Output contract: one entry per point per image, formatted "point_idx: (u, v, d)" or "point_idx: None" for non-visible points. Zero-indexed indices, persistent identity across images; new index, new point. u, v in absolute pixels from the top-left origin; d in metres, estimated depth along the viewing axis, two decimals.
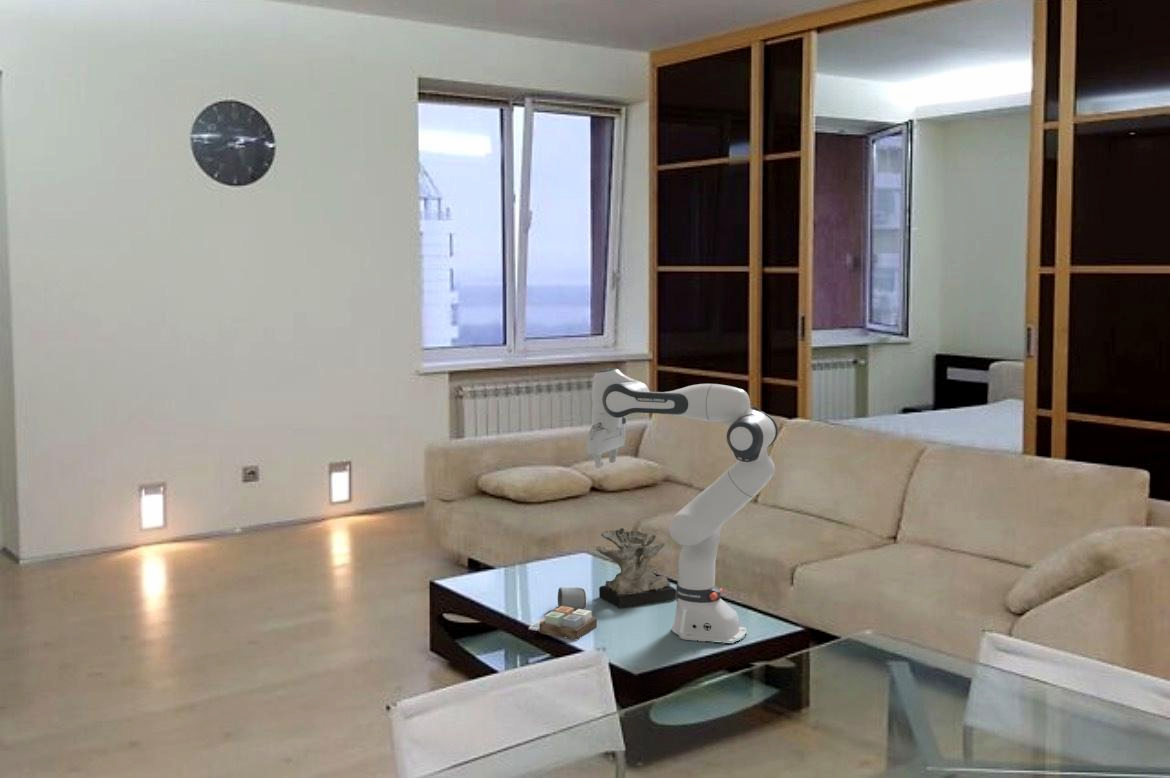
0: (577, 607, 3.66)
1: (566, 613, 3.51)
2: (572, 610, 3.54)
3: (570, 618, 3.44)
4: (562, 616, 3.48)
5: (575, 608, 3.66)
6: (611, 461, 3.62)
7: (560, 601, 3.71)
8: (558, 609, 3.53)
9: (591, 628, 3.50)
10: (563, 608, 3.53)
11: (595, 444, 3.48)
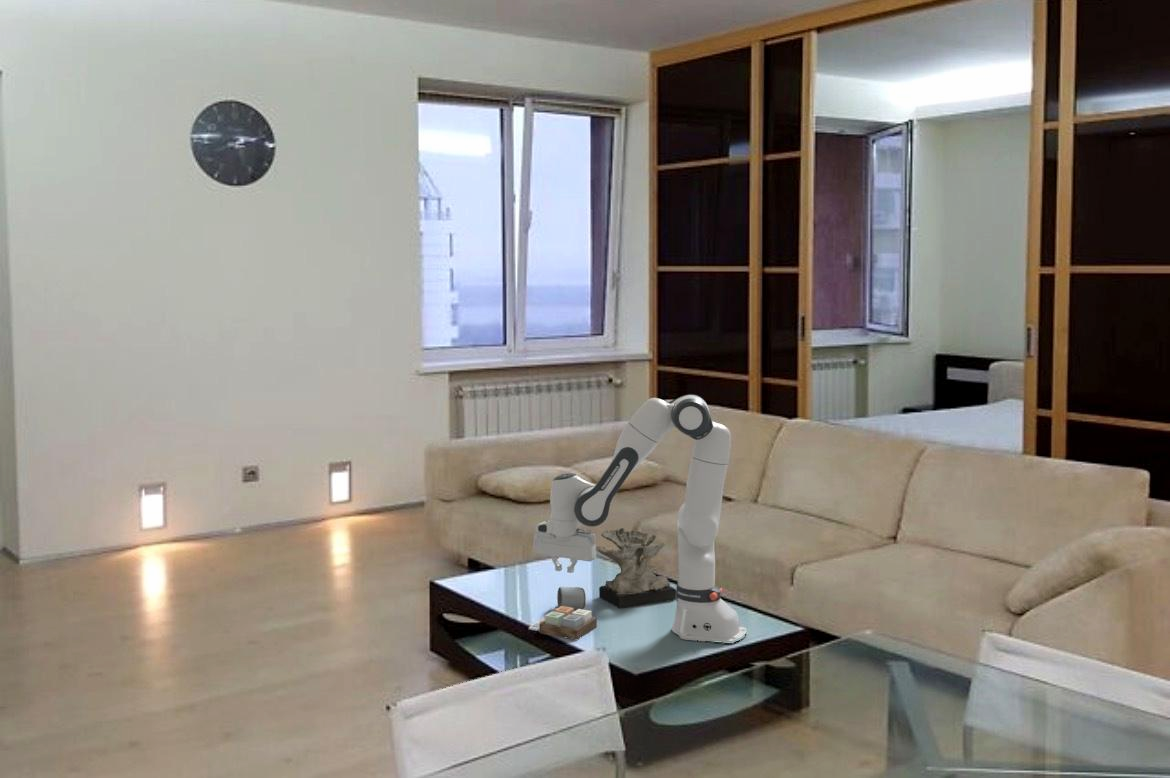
0: (577, 607, 3.66)
1: (566, 613, 3.51)
2: (572, 610, 3.54)
3: (570, 618, 3.44)
4: (562, 616, 3.48)
5: (575, 608, 3.66)
6: (560, 569, 3.53)
7: (560, 601, 3.72)
8: (558, 609, 3.53)
9: (591, 628, 3.50)
10: (563, 608, 3.53)
11: (595, 548, 3.48)
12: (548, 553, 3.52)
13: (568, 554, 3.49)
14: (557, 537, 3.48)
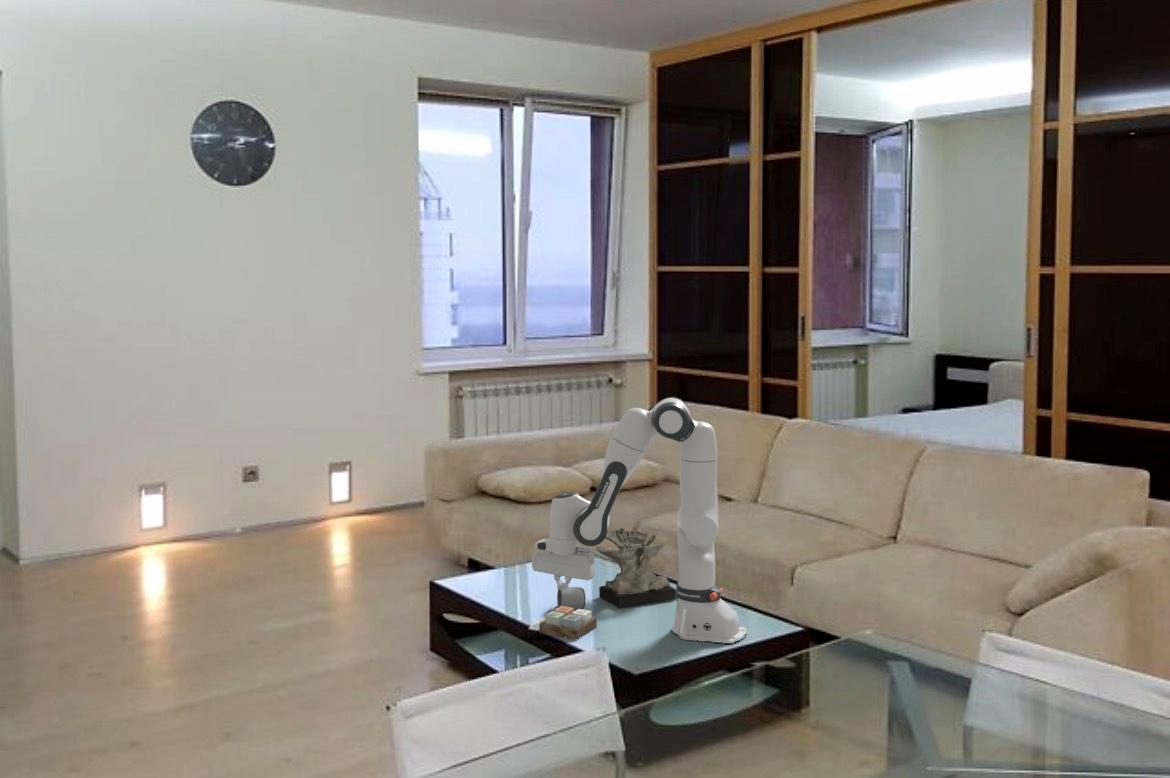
0: (576, 606, 3.67)
1: (566, 613, 3.51)
2: (572, 610, 3.54)
3: (570, 618, 3.44)
4: (562, 616, 3.48)
5: (574, 607, 3.67)
6: None
7: (560, 600, 3.72)
8: (558, 609, 3.53)
9: (591, 628, 3.50)
10: (563, 608, 3.53)
11: (594, 567, 3.48)
12: (547, 571, 3.53)
13: (567, 573, 3.49)
14: (556, 555, 3.49)
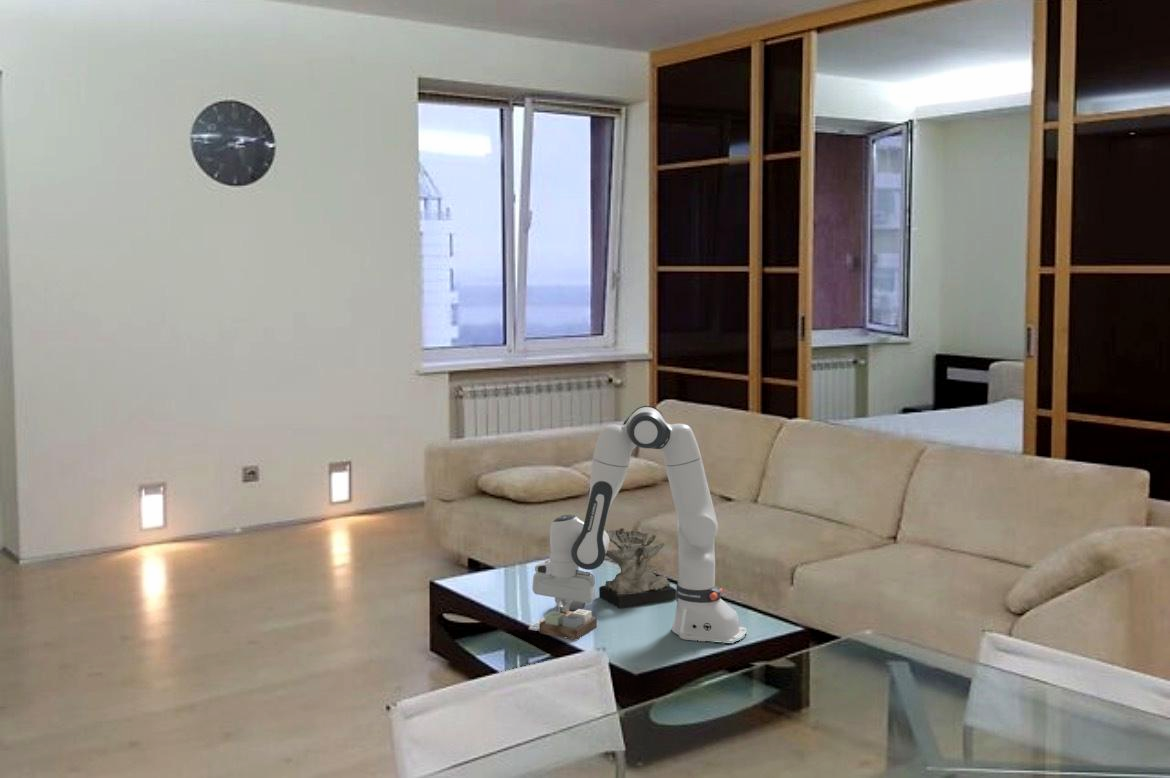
0: (576, 606, 3.67)
1: None
2: None
3: (570, 618, 3.44)
4: (562, 616, 3.48)
5: (574, 607, 3.67)
6: None
7: None
8: None
9: (591, 628, 3.50)
10: None
11: (594, 590, 3.49)
12: (547, 594, 3.53)
13: (567, 595, 3.50)
14: (556, 578, 3.50)
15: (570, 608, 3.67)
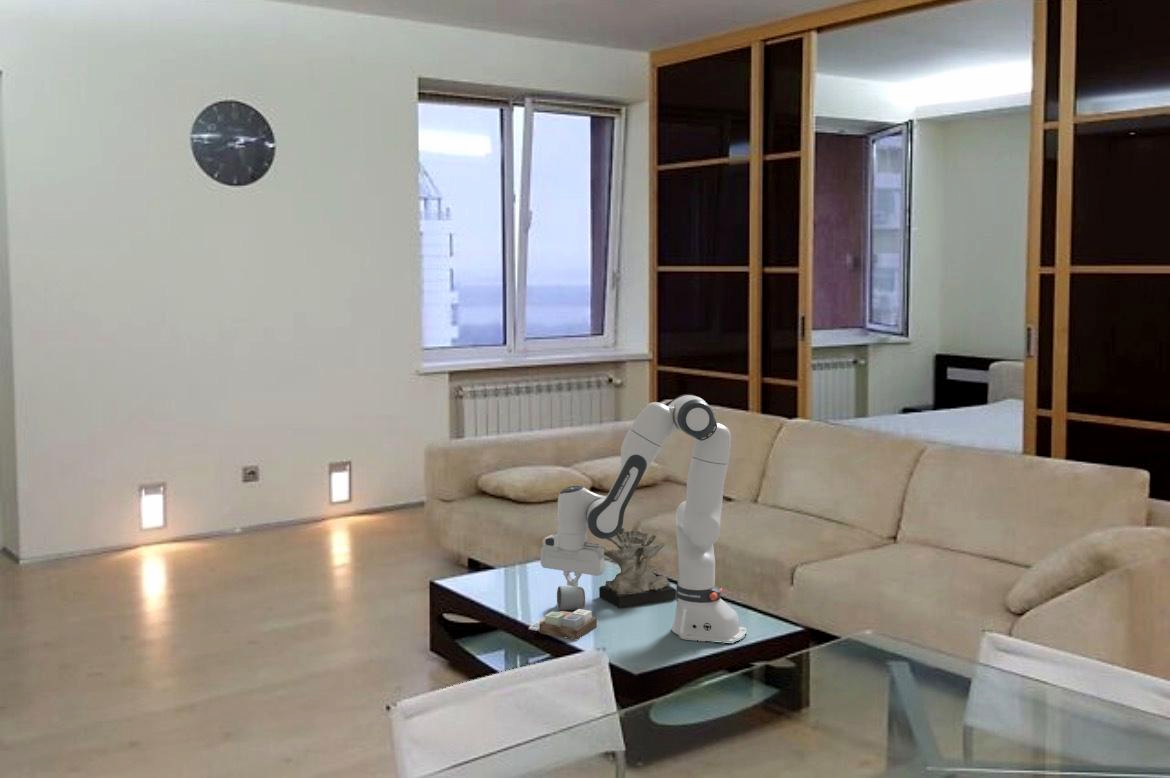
0: (576, 606, 3.67)
1: None
2: None
3: (570, 618, 3.44)
4: (562, 616, 3.48)
5: (574, 607, 3.67)
6: None
7: (559, 600, 3.72)
8: None
9: (591, 628, 3.50)
10: None
11: None
12: (556, 567, 3.45)
13: (576, 568, 3.42)
14: (565, 551, 3.42)
15: (570, 608, 3.67)
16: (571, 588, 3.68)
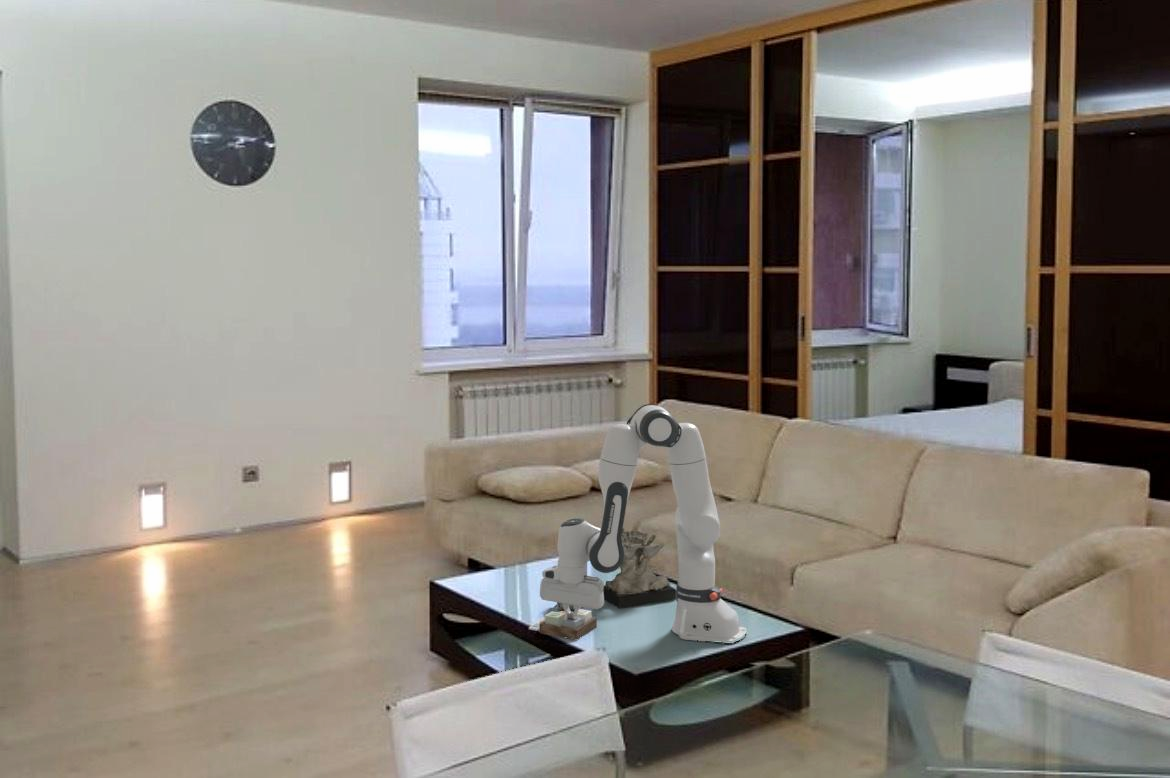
0: None
1: None
2: None
3: (570, 619, 3.45)
4: (562, 616, 3.48)
5: None
6: None
7: None
8: None
9: (591, 628, 3.50)
10: None
11: (603, 595, 3.41)
12: (555, 599, 3.45)
13: (575, 601, 3.42)
14: (564, 584, 3.42)
15: (570, 607, 3.68)
16: None
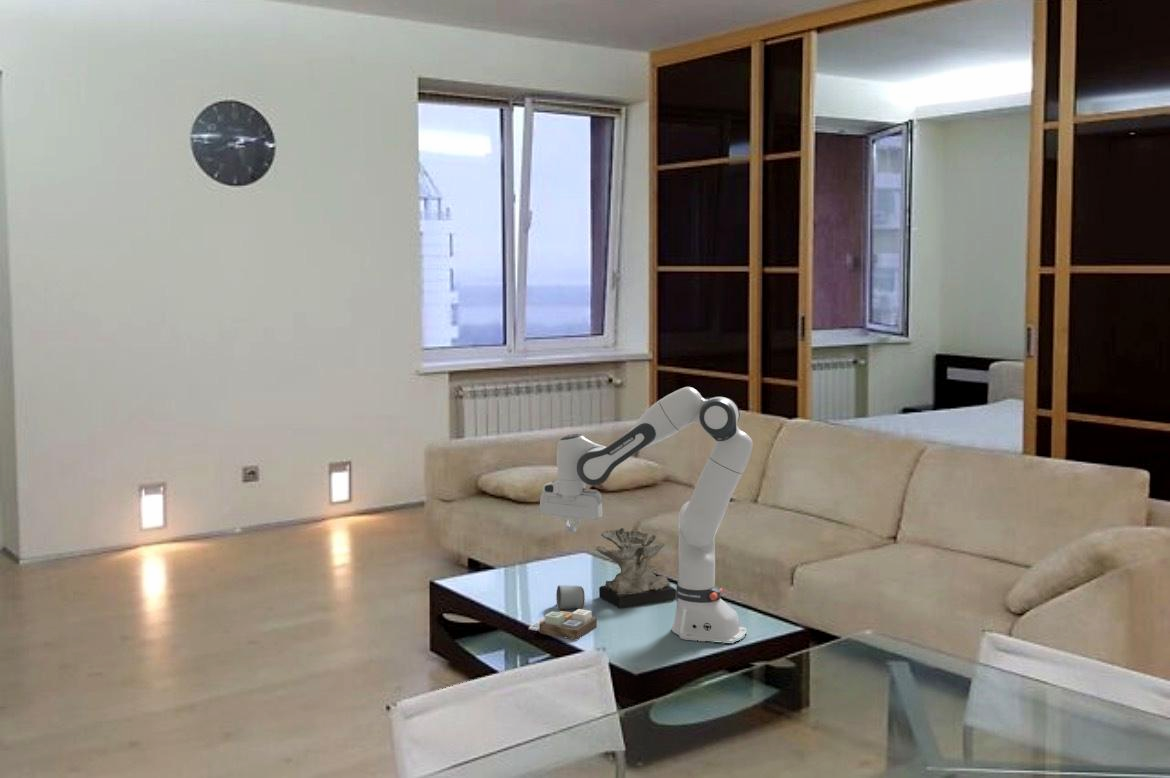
0: (576, 605, 3.68)
1: (566, 618, 3.51)
2: None
3: (570, 623, 3.45)
4: (562, 616, 3.48)
5: (574, 606, 3.68)
6: None
7: (559, 599, 3.73)
8: None
9: (591, 628, 3.50)
10: None
11: (601, 507, 3.52)
12: (555, 513, 3.56)
13: (574, 514, 3.53)
14: (564, 497, 3.53)
15: (569, 607, 3.68)
16: (570, 587, 3.69)
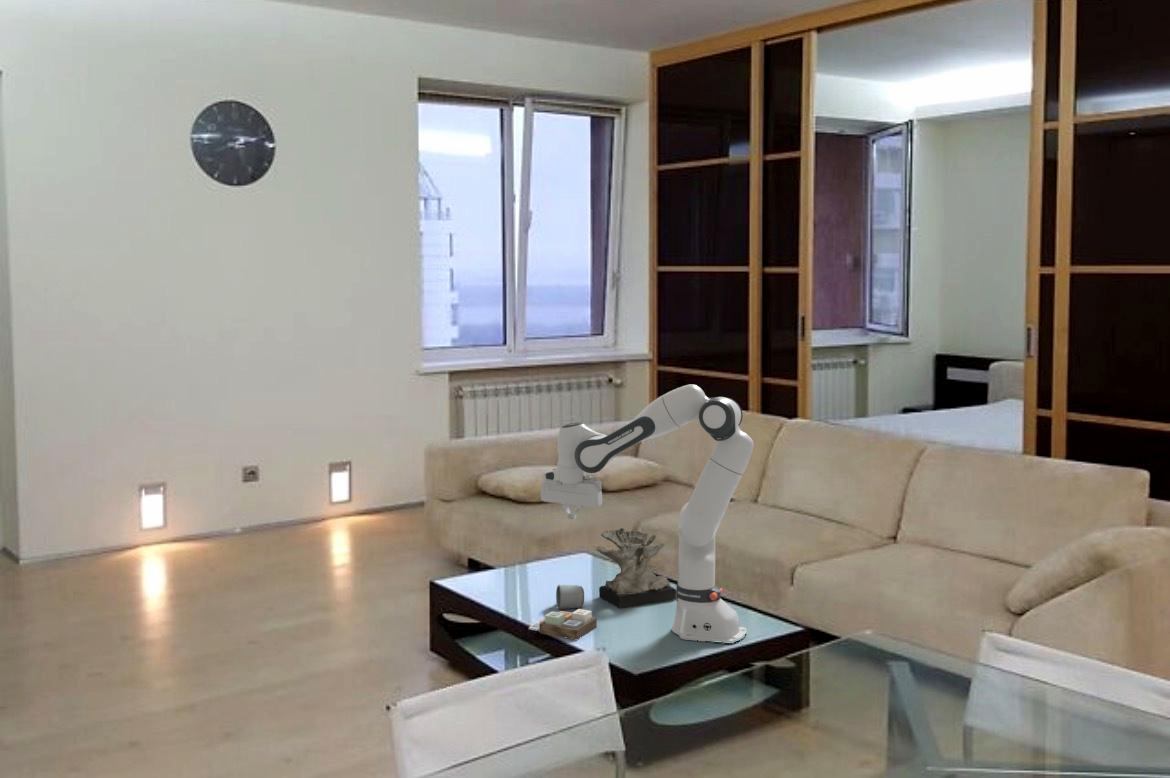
0: (575, 604, 3.68)
1: (566, 618, 3.51)
2: None
3: (570, 623, 3.45)
4: (562, 616, 3.48)
5: (573, 605, 3.69)
6: None
7: (559, 598, 3.74)
8: None
9: (591, 628, 3.50)
10: None
11: (601, 495, 3.56)
12: (555, 500, 3.60)
13: (575, 501, 3.57)
14: (564, 484, 3.57)
15: (569, 606, 3.69)
16: (570, 587, 3.70)
